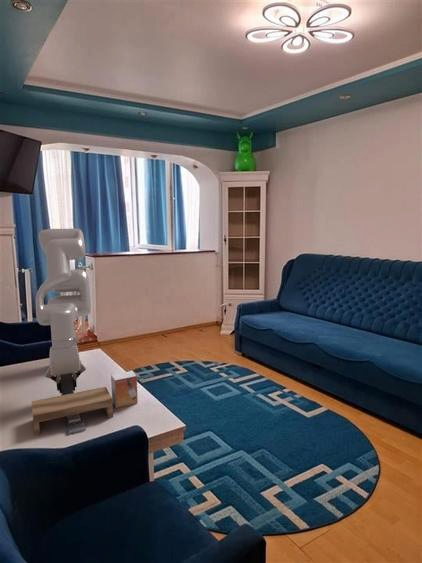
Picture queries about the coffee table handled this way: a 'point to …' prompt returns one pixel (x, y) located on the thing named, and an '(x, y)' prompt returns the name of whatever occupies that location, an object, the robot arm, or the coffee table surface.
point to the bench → (71, 405)
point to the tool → (68, 391)
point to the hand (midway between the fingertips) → (67, 390)
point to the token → (76, 426)
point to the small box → (124, 389)
